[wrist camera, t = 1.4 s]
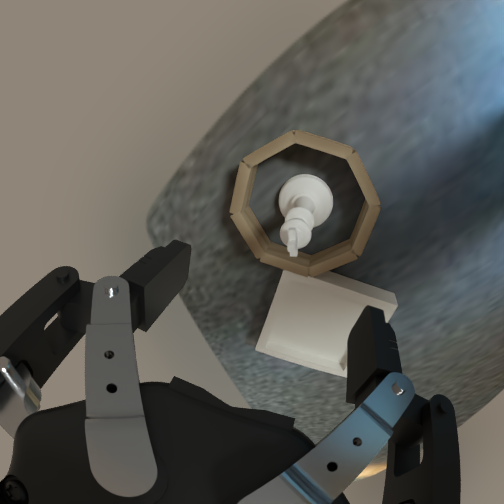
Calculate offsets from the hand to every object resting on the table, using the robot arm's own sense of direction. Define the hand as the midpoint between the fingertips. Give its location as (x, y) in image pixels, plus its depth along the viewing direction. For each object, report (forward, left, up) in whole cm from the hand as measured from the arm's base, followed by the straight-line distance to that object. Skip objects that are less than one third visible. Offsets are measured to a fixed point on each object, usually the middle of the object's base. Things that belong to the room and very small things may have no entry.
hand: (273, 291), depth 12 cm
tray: (-6, +12, -14) cm, 20 cm away
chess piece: (0, 0, -15) cm, 15 cm away
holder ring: (0, 0, -14) cm, 14 cm away
